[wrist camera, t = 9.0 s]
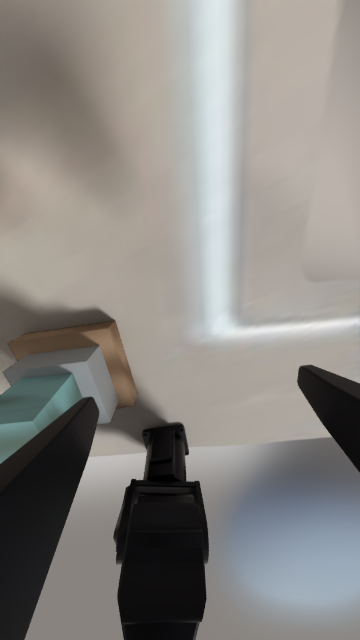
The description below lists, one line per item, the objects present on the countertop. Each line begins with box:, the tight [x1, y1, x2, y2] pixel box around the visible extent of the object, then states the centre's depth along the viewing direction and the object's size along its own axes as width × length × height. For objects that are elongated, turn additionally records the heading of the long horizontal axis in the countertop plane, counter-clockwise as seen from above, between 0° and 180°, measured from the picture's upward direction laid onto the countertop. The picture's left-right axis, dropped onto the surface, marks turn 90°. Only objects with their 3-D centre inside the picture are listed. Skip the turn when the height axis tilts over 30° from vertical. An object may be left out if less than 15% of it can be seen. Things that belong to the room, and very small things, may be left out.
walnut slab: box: [7, 321, 137, 409], centre depth 22 cm, size 11×11×3 cm
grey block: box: [3, 345, 118, 424], centre depth 19 cm, size 8×8×3 cm
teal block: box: [0, 373, 83, 464], centre depth 15 cm, size 5×5×5 cm
